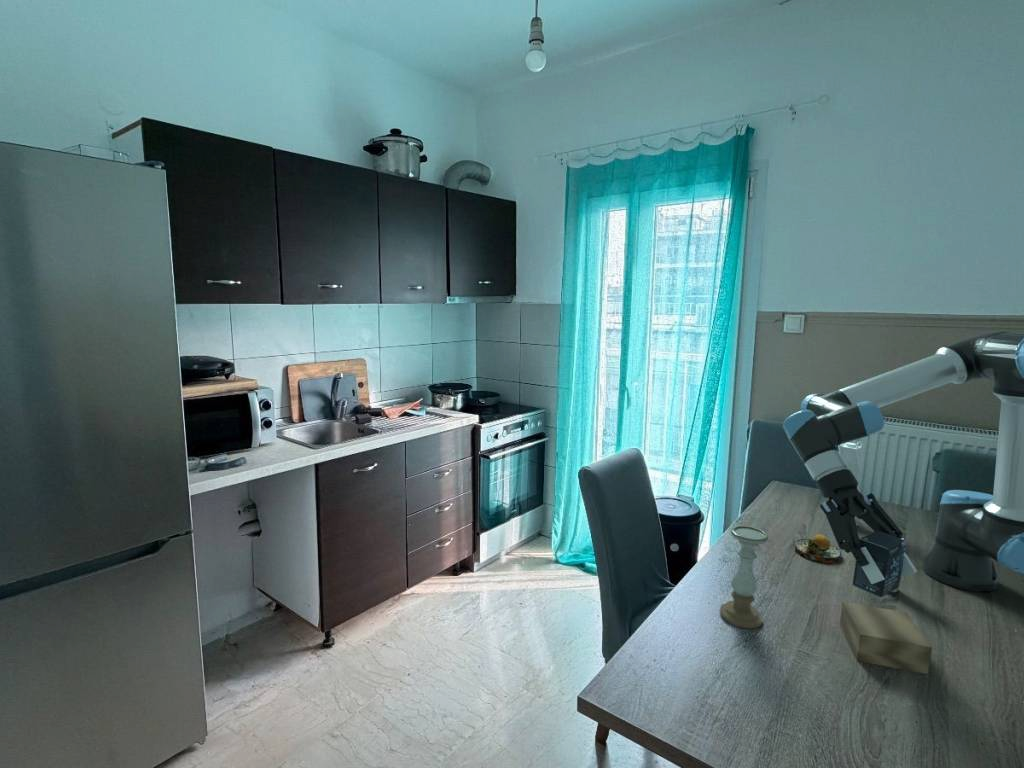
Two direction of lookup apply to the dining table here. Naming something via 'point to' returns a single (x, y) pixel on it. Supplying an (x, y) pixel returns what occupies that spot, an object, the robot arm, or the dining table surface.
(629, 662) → the dining table surface
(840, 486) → the robot arm
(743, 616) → the candle holder
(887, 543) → the box
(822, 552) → the burger
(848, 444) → the skyscraper
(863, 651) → the tan square block
